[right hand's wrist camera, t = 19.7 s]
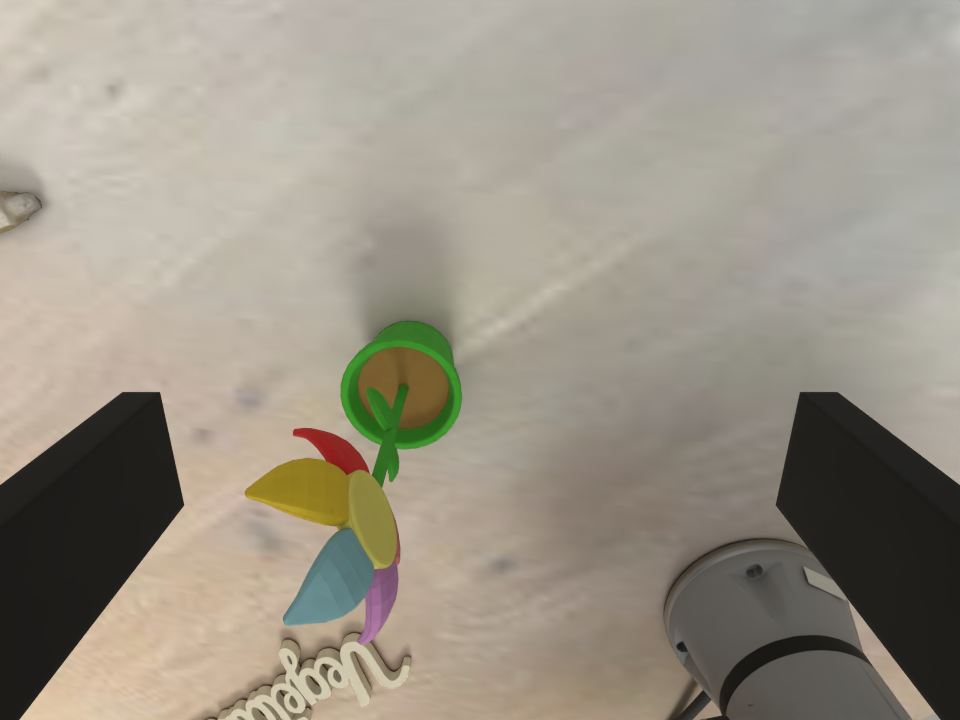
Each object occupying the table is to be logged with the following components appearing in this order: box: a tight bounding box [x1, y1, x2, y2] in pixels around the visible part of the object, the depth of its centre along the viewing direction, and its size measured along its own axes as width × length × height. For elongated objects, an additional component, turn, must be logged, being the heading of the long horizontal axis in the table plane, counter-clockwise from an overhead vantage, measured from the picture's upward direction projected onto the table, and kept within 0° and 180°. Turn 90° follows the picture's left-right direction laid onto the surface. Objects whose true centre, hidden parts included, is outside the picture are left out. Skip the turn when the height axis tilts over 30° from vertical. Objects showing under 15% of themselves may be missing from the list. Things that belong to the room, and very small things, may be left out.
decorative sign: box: [207, 633, 411, 720], centre depth 57 cm, size 26×1×10 cm
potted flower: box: [245, 321, 462, 645], centre depth 34 cm, size 9×8×25 cm
